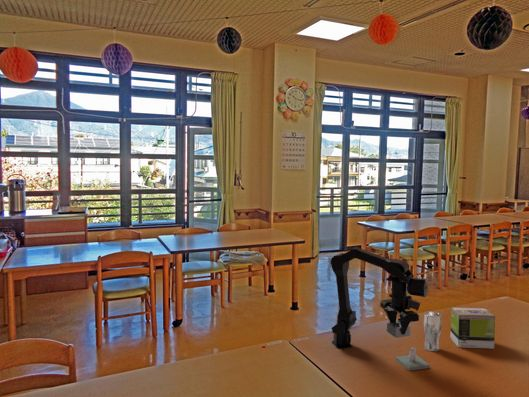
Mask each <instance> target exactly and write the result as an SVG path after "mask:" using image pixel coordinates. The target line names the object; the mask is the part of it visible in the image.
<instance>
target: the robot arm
mask: <svg viewBox="0 0 529 397" xmlns="http://www.w3.org/2000/svg"><path fill="white" fill-rule="evenodd" d="M354 259H358V260H360V261H361V262H364V263H365V262H366V263H368V264H371V265H373V266H376V267H379V268H381V269H382V270H384V271H385V272H386V273H388V274H390V275H389V276H388V277H387V278H386V279H385V281H389V282H391V290H390V291H391V293H389V295H388V297H389V298H390V299H382V300H381V301H380V303H379V304H380V308H382V309H383V311H384V313H385V315H386V316H387V319H388V321H389V323H391V322H398V323H399V326H400V330H401V333H402V335H405V333H406V330H407V328H408V326H409V325H410V324H411V323H413V322H419V321H420V315H419V314H418V313H417V312H415V311H419V310H420V306H421V302H419V301H418V300H415V299H413V298H412V296H415V297H421V298H427V295H428V291H429V286H428V282H427V279H426V278H419V277H415V275H414V274H413V272H412V271H411V269H410V267H409V263H408V262H407V261H405V260H404V259H398V258H389V257H384V256H381V255H380V254H377V253H373V252H371V251H369V250H366V249H363V248H361V247H360V246H359V247H358V246H356V247H353V248H351V249H350V250H349V251H347V252H341V253H338V254H336V255H333V256H332V257H331V259H330V266H331V269H332V271H333V274H334V275H335V279H336V289H337V298H338V313H337V316H336V317H337V318H336V324H335V325H333V326H332V327H331V331H332V333H333V340H332V341H331V343H332V344H333V345H334V347H336V348H337V349H342V348H343V349H344V348H351V347H352V344H351V342H352V334H351V331H350V330H351V329H352V327H353V326H355V324H356V321H357V320H358V319H357V311H356V310H353V309H352V307H351V302H350V300H351V299H350V293H349V292H350V291H349V282H348V272H349V269H350V268H349V267H350V261H352V260H354ZM411 309H412V310H411ZM413 310H415V311H413ZM398 314H399V318H397V315H398Z"/></svg>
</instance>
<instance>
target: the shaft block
mask: <svg viewBox="0 0 529 397" xmlns="http://www.w3.org/2000/svg"><path fill="white" fill-rule="evenodd" d="M408 352H409V353H408V354H407V355H398V356H395V360H396V362H398V363H399V364H400V365H402V367H404V368H405V369H406V370H407V371H416V370H422V369H430V363H427V361H426V360H424V359H423V358H422V357H420V356H418V355H417V349H416V347H410V348H409V351H408Z"/></svg>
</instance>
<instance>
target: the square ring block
mask: <svg viewBox="0 0 529 397" xmlns="http://www.w3.org/2000/svg"><path fill="white" fill-rule="evenodd" d="M386 332H387V333H388V334H390V335H391V336H393V337H394V338H396V339H397V338H404V337H411V327H410V326H409V325H408V328H407V330H406V333H405V335H402V333H401V330H400V326H399V323H398V321H396V322H391V323H390V322H387V323H386Z"/></svg>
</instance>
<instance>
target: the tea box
mask: <svg viewBox="0 0 529 397" xmlns="http://www.w3.org/2000/svg"><path fill="white" fill-rule="evenodd" d="M495 333H496V315H495V314H493V312H490V311H489V310H488V309H487V308H485V307H456V306H455V307H454V306H453V307H451V308H450V340H452V342H453V343H454V345H456V347H458V348H468V349H470V348H471V349H473V348H474V349H490V350H491V349H493V350H494V349H495V338H496V337H495V335H496V334H495Z"/></svg>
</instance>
